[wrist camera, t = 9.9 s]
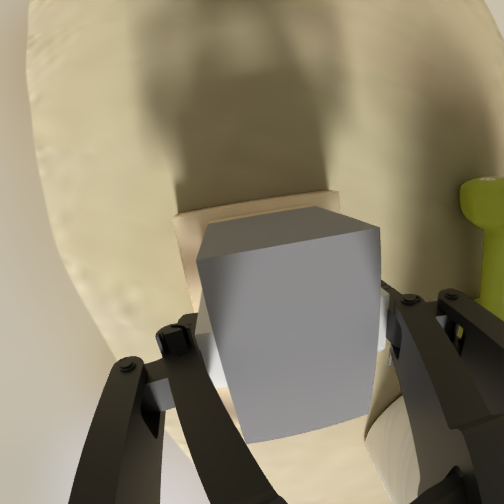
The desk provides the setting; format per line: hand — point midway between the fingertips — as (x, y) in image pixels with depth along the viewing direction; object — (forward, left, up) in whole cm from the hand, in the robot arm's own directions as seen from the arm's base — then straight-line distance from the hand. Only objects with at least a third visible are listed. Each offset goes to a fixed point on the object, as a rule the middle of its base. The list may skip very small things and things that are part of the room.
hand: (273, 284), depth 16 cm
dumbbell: (+3, +21, -3) cm, 21 cm away
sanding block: (0, 0, -1) cm, 1 cm away
